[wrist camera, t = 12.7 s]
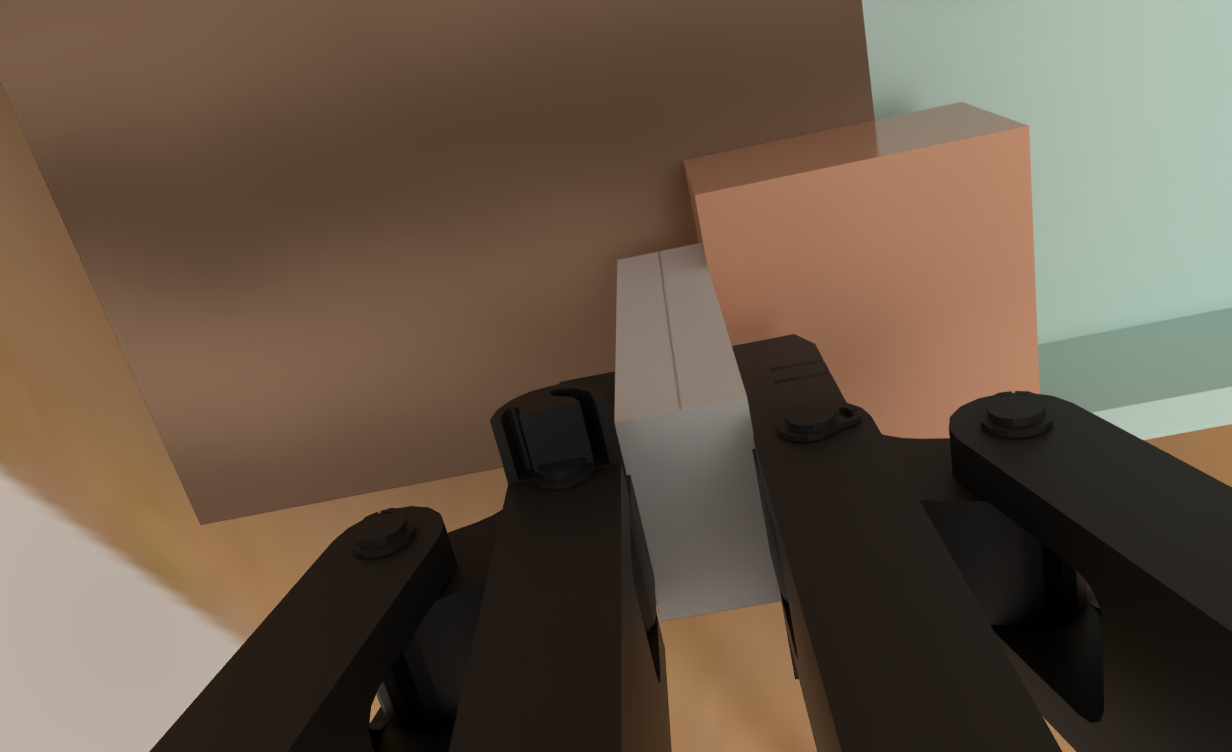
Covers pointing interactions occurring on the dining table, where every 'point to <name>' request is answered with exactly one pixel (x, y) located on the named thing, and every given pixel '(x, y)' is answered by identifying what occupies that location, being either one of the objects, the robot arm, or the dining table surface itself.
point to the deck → (388, 203)
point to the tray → (1101, 181)
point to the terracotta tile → (883, 257)
